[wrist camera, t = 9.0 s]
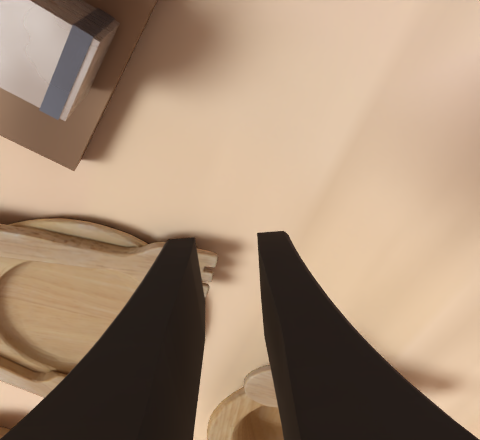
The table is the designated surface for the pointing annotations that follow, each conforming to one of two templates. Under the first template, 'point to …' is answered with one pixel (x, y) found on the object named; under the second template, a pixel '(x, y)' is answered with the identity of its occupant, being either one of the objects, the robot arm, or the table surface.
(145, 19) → the board
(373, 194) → the table surface
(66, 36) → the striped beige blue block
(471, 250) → the table surface
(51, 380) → the tableware set
